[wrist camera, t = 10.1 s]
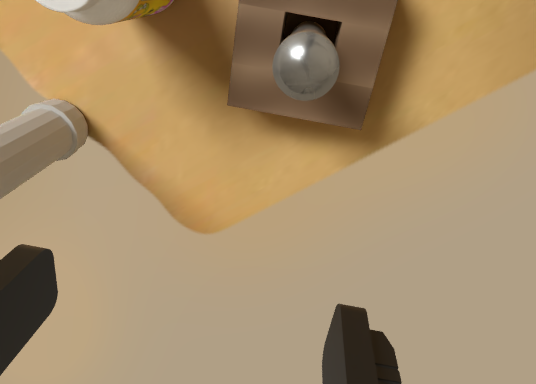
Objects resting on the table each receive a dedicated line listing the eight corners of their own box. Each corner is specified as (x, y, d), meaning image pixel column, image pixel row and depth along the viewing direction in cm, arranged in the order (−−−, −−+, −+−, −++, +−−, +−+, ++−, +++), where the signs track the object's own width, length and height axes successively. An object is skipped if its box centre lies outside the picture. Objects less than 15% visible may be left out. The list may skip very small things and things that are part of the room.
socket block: (252, -48, 31) (244, -52, 27) (393, -23, 31) (404, -23, 27) (235, 93, 36) (227, 105, 33) (356, 115, 36) (361, 130, 32)
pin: (290, 11, 33) (278, 26, 22) (336, 20, 33) (346, 38, 22) (281, 59, 34) (267, 94, 24) (325, 67, 34) (330, 106, 24)
